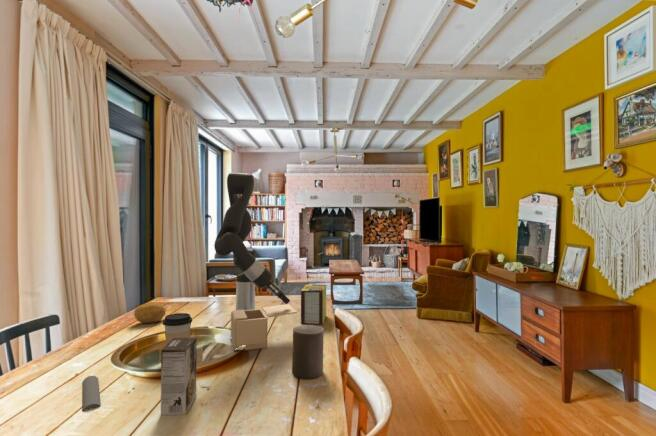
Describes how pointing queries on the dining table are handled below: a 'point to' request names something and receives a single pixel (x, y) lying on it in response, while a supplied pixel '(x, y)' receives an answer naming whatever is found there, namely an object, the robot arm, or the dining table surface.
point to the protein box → (313, 304)
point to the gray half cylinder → (90, 393)
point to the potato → (150, 312)
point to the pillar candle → (307, 351)
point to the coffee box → (178, 376)
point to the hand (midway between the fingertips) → (288, 302)
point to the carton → (249, 329)
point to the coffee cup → (177, 326)
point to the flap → (279, 310)
